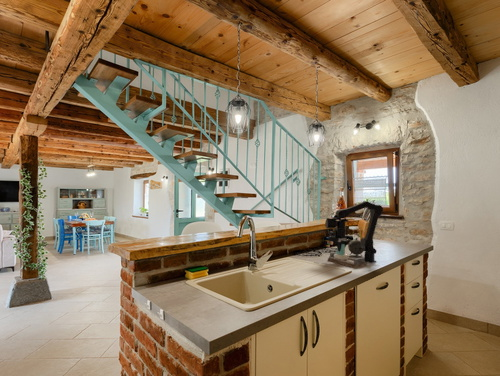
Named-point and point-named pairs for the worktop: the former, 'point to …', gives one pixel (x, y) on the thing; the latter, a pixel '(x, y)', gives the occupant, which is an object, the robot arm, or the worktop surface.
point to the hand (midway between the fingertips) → (340, 251)
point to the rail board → (348, 261)
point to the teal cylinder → (341, 253)
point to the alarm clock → (355, 246)
